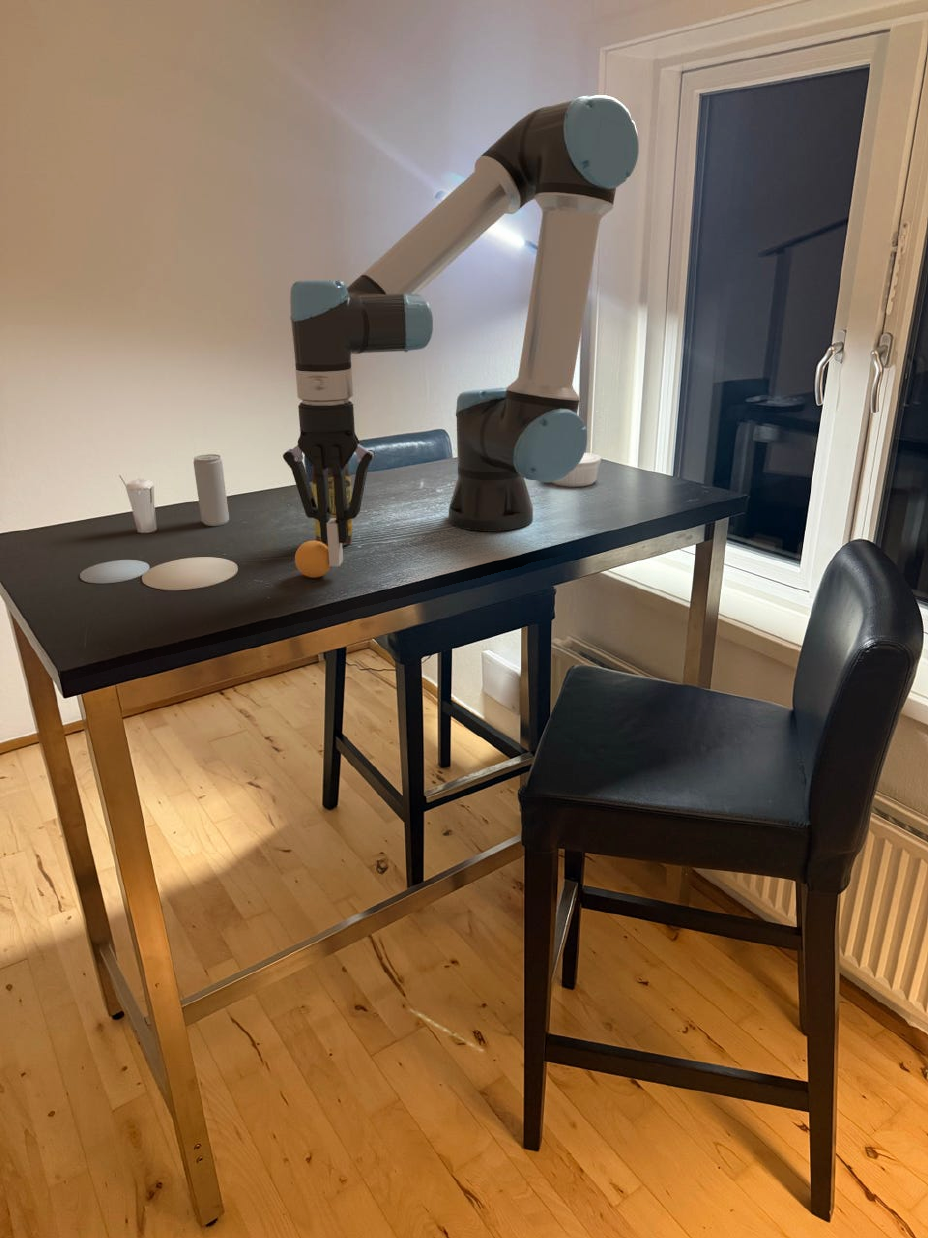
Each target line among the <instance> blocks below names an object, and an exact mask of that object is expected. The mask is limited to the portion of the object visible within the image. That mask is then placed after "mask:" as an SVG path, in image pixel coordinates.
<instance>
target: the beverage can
mask: <svg viewBox="0 0 928 1238" xmlns="http://www.w3.org/2000/svg"><path fill="white" fill-rule="evenodd" d="M193 469H194V476H195V484H196V491H197V497H198V498H197V499H198V503H199V505H198V506H199V512H200V517H201V523H202V524H203V525H205V526H209V527H220V526H224V525H226V524H227V523H228V522H229V520H230V515H229V514H230V513H229V506H228V499H227V490H226V482H225V475H224V467H223V460H222V459H221V455H220V454H213V453H212V454H211V453H210V454H201V455H197V456H194V457H193Z"/></svg>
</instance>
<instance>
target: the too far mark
mask: <svg viewBox="0 0 928 1238" xmlns="http://www.w3.org/2000/svg"><path fill="white" fill-rule="evenodd" d="M149 569H151V567H150V565H149V563H148V562H146V561H141V560H138V559H137V560H136V559H121V560H120V559H119V560H112V561H111V560H110V561H106V562H101V563H97V564H94V565H92V566H89V567H87V568H85V569H83V570H82V571H81V572H80V574H79V578H80V580H82V581H84V582H86V583H89V584H98V585H99V584H101V585H102V584H103V585H104V584H114V583H115V584H116V583H121V582H122V583H123V582H126V581H131V580H134V579H137V578H139V577H142V576H143V574H144V573H145V572H146V571H148V570H149Z"/></svg>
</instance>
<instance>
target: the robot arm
mask: <svg viewBox="0 0 928 1238" xmlns="http://www.w3.org/2000/svg"><path fill="white" fill-rule="evenodd" d="M638 134H639V133H638V130H637V126H636V123H635V121H634V120H633V119H632V117H631V113H630V111H629V109H628V108H626V106H625V105H624V104H623V103H622V102H620V101H619V100H618V99H616V98H615V97H612V96H608V95H603V94H598V95H597V94H596V95H581V96H580V97H578V98H575V99H572V100H569V101H564V102H561V103H557V104H552V105H549V106H544V107H540V108H537V109H535V110H533V111H531V112H530V113H528V114H527V115H525V116H524V117H522V118H521V119H519V120H518V121H517V122H516V123H515V124H514V125H513V126H512V127H510V128H509V129H508V130H507V131H506V132H505V133H504V134H503V135H502V136H500V138H498V140H496V141H495V142H494V143H493V144H492V145H491V146H490V147H488V149H487V150H486V151H485V152H483V153H482V154H481V155H480V156H479V157H478V158H477V159H476V160H475V163H474V171H473V172H472V173H471V174H469V176H468V177H467V178H466V179H465V180H463V182H461V183H460V184H459V185H458V186H456V188H455V189H453V190H452V192H451V193H449V194H448V195H447V196H446V197H445V198H444V199H443V200H441V202H439V203H438V204H437V205H436V206H435V207H434V208H433V209H432V210H431V211H430V212H429V213H427V214H426V215H425V216H424V217H423V218H422V219H421V220H420V221H419V222H418V223H416V224H415V226H413V227H412V228H411V229H410V230H409V231H408V232H407V233H406V234H404V235H403V237H401V238H400V239H399V240H398V241H397V242H396V243H395V244H394V245H393V246H392V247H391V248H389V249H388V250H387V251H386V252H385V253H384V254H383V255H381V257H379V258H378V259H377V260H376V261H375V262H374V263H373V264H372V265H371V266H370V267H369V268H368V269H366V270H365V271H364V272H363V273H362V274H361V275H360V276H359V277H357V278H356V279H355V280H354V281H353V282H352V283H351V284H349V285H348V286H347V284H346V282H344V281H343V280H338V279H333V280H330V279H329V280H328V279H327V280H326V279H324V280H323V279H322V280H320V279H319V280H317V279H316V280H310V279H309V280H308V279H306V280H297V281H296V282H294V283H292V285H291V288H290V296H289V297H290V298H289V301H290V303H289V304H290V316H289V317H290V318H289V319H290V320H289V321H290V323H291V331H292V340H293V341H292V342H293V351H294V354H293V355H294V362H295V365H294V366H295V370H294V371H295V381H296V393H297V398H298V399H299V400H301V402H300V403H299V405H298V406H297V407H298V408H297V409H298V421H299V430H300V431H299V432H300V433H299V437H298V440H297V445H295V446H294V447H293V448H290V449H288V450H286V452H284V453H283V455H282V458H283V460H284V461H285V463H286V464H287V466H288V467H289V468H290V469H291V472H292V476H293V479H294V483H295V485H296V488H297V492H298V495H299V497H300V500H301V504H302V507H303V509H304V513H305V516H306V517H307V518H308V519H313V520H314V519H317V520H318V521H319V523H320V534H321V541H322V543H328V551H329V566H331V567H340V566H341V564H342V563H343V562H344V552H343V551H344V550H343V546H342V543H346V542H347V540H348V520H349V519H352V520H354V519H356V518H357V516H358V515H359V513H360V511H361V507H362V502H363V501H362V500H363V496H364V491H365V486H366V481H367V476H368V471H369V466H370V464H371V462H372V461H373V459H374V458H375V455H376V453H375V451H374V450H373V449H367V448H365V447H364V446H363V445H361V444H360V439H359V438H358V437H357V434H356V431H355V411H354V403H352V401H350V399H351V398H352V397H353V396H354V392H353V391H354V390H353V376H352V373H353V372H352V354H353V355H358V354H367V353H368V354H371V353H390V352H391V353H392V352H404V353H408V352H409V351H418V350H422V349H425V348H426V347H428V344H429V343H430V341H431V340H432V337H433V331H434V320H433V319H434V318H433V317H434V316H433V312H432V309H431V306H430V304H429V302H428V300H427V299H426V298H425V297H424V296H423V295H421V294H419V293H420V292H421V291H422V290H424V289H425V288H426V287H427V286H428V285H429V284H430V283H431V282H432V281H433V280H435V279H436V277H437V276H439V275H440V274H441V273H442V272H443V271H445V269H446V268H447V267H449V266H450V265H452V263H453V262H454V261H455V260H456V259H457V258H458V257H459V256H461V255H462V253H463V252H465V251H466V250H467V249H468V248H469V247H470V246H471V245H472V244H474V242H476V241H477V240H478V239H479V238H480V237H481V236H483V234H484V233H486V232H487V230H489V228H491V227H492V226H493V225H494V224H495V223H496V222H498V220H500V219H501V218H502V217H503V216H504V215H505V214H508V215H514V214H516V213H517V212H518V211H519V210H521V208H522V207H524V206H525V205H526V204H528V203H529V202H531V201H533V200H535V201H536V203H537V204H538V206H539V208H540V209H541V212H542V214H541V215H542V216H541V224H540V230H539V235H538V240H537V241H538V242H537V250H536V256H535V261H534V262H535V263H534V269H533V275H532V282H531V290H530V295H529V302H528V303H529V304H528V309H527V315H526V323H525V329H524V335H523V336H524V337H523V342H522V343H523V344H522V348H521V356H520V361H519V362H520V363H519V370H518V374H517V375H518V376H517V378H516V379H515V380H514V381H512V382H511V384H509V385H508V386H507V387H494V388H483V389H475V390H474V389H473V390H467V391H463V392H461V393H460V394H459V395H458V396H457V399H456V400H457V401H456V407H455V408H456V410H455V417H456V441H457V442H456V446H457V447H456V452H457V457H456V458H457V479H456V482H455V486H454V489H453V493H452V496H451V499H450V502H449V506H448V521H449V523H450V524H451V525H453V526H454V527H457V528H461V529H465V530H470V531H477V532H478V531H480V532H502V531H504V532H505V531H510V530H516V529H521V528H524V527H526V526H528V525H529V524H531V523H532V522H533V520H534V508H533V507H534V506H533V503H532V500H531V497H530V495H529V494H530V493H529V490H528V487H527V484H526V480H528V481H537V482H540V483H552V482H554V481H557V480H560V479H562V478H564V477H566V476H567V475H568V474H569V473H570V472H571V471H573V470H574V469H575V468H576V467H577V465H578V464H579V463H580V461H581V459H582V457H583V455H584V453H586V450H587V446H588V429H587V427H586V426H585V424H584V420H583V418H582V417H581V416H579V414H578V411H579V405H580V401H581V400H580V398H581V397H580V396H579V394H578V393H577V391H576V390H575V389H574V386H573V383H574V377H575V372H576V366H577V360H578V353H579V348H580V342H581V341H580V340H581V336H582V330H583V324H584V319H585V318H584V317H585V312H586V306H587V301H588V293H589V289H590V288H589V287H590V283H591V282H590V281H591V276H592V271H593V265H594V260H595V259H594V258H595V253H596V247H597V240H598V235H599V228H600V223H601V220H602V219H603V217H605V216H607V214H608V213H609V212H610V211H612V210H613V208H614V202H615V196H616V190H617V188H618V187H619V186H621V185H622V184H624V183H625V182H626V181H627V179H628V178H629V177H631V175H632V174H633V172H634V170H635V168H636V166H637V162H638V158H639V151H640V149H639V148H640V142H639V141H640V139H639V135H638ZM354 454H356V457H355V460H356V462H357V463H358V465H357V468H356V471H355V472H356V473H355V477H354V483H353V487H352V491H351V502H350V508H349V509H348V508H347V492H346V476H345V472H346V464H347V463H348V464H349V461H350V460H351V458H352V457H353V455H354ZM304 456H305V457H306V459H307V460H308V461H309V463H310V464H311V465H312V467H313V466H314V474H315V477H316V490H317V504H318V508H317V504H316V501H315V498H314V495H313V488H312V486H311V484H310V479H309V476H308V474H307V470H306V467H305V464H304V462H303V460H304ZM328 468H331V469H332V475H333V478H334V493H335V508H336V518H330V516H331V513H330V500H329V485H328Z"/></svg>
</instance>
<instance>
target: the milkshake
mask: <svg viewBox="0 0 928 1238" xmlns="http://www.w3.org/2000/svg"><path fill="white" fill-rule="evenodd" d="M119 478H120V480H121V481H122V483H123V484H124V487H125V490H126V494H127V497H128V501H129V503H130V506H131V510H132V514H133V518H134V522H135V526H136V530H137V533H141V534H146V533H147V534H148V533H154V532H155V531H157V518H156V508H155V489H154V488H155V487H154V486H155V485H154V483H153V482H152V481H151V480H149V479H148V478H141V477H139V478H137V479H133V480H131V481H129V482H128V483H127V484H126V482H125V480H124V479H123V478H122V476H121V475H119Z"/></svg>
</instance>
